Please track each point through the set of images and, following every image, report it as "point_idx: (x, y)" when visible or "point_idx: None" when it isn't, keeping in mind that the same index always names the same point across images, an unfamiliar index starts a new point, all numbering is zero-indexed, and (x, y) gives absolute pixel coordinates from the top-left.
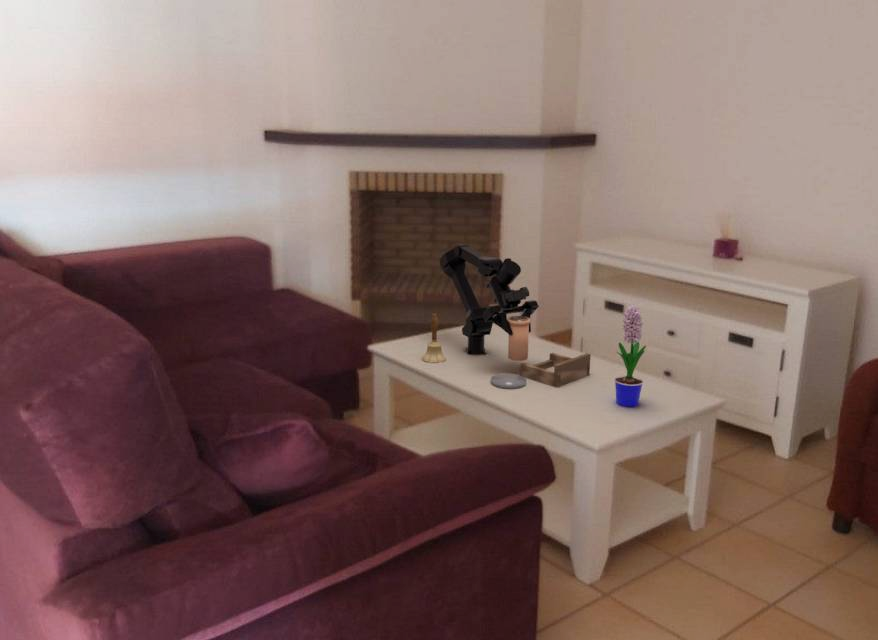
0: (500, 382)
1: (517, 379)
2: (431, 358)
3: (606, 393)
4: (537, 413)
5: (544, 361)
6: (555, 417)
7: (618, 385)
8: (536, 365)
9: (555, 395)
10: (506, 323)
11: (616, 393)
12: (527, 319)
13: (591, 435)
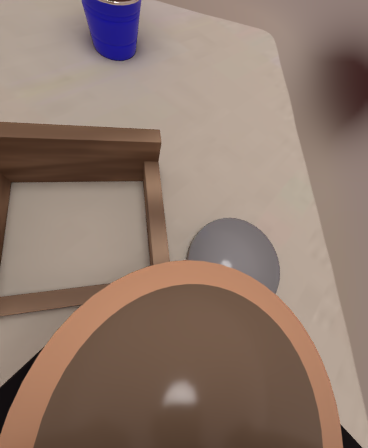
0: (267, 258)
1: (217, 247)
2: None
3: (97, 87)
4: (278, 123)
5: (21, 310)
6: (263, 98)
7: (140, 3)
8: (88, 292)
9: (194, 147)
10: (344, 433)
11: (134, 33)
12: (124, 320)
13: (259, 44)
